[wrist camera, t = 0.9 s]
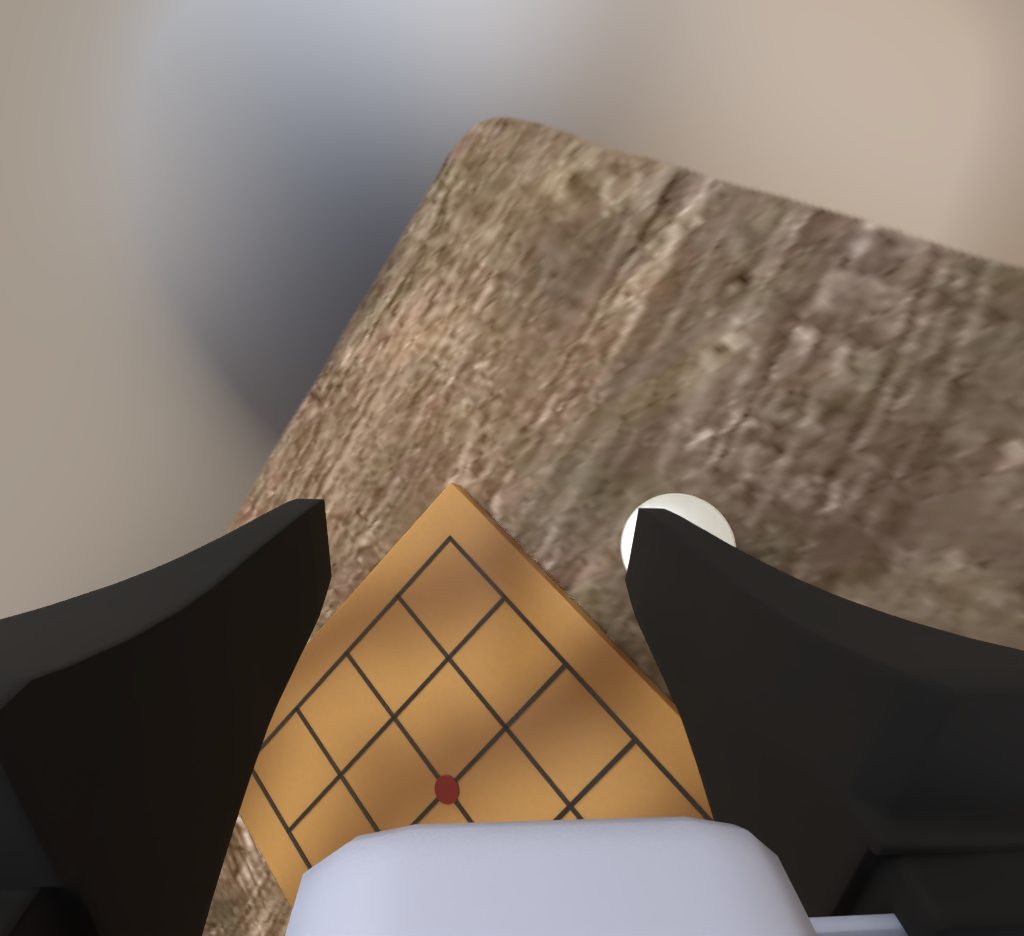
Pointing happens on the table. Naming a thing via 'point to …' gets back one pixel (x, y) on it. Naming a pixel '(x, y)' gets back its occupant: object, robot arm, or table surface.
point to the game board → (460, 706)
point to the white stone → (686, 508)
